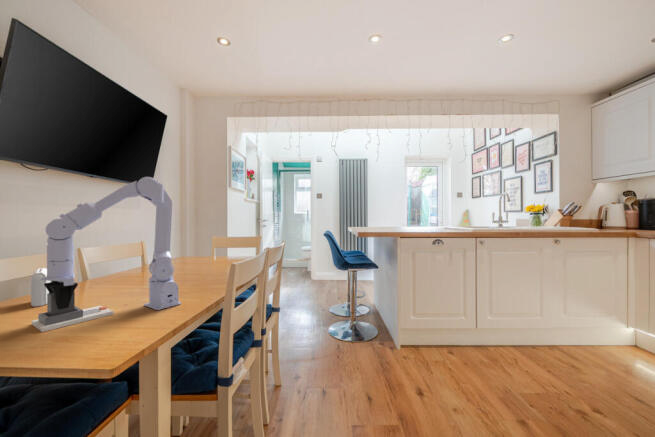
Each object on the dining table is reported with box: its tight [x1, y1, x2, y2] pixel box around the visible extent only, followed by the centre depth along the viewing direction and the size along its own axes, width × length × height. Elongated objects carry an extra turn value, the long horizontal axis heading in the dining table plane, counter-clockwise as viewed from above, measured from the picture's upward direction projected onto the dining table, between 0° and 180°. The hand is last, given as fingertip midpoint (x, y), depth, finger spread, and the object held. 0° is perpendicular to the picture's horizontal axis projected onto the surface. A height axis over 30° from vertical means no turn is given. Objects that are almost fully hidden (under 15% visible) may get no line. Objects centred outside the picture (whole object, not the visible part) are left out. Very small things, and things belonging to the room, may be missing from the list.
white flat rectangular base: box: [31, 305, 114, 333], centre depth 83 cm, size 10×16×3 cm, turn 148°
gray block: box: [46, 291, 76, 317], centre depth 80 cm, size 4×5×6 cm
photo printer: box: [30, 267, 51, 308], centre depth 98 cm, size 10×4×12 cm, turn 39°
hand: (61, 307), depth 80 cm, fingers closed on gray block, 4 cm apart
